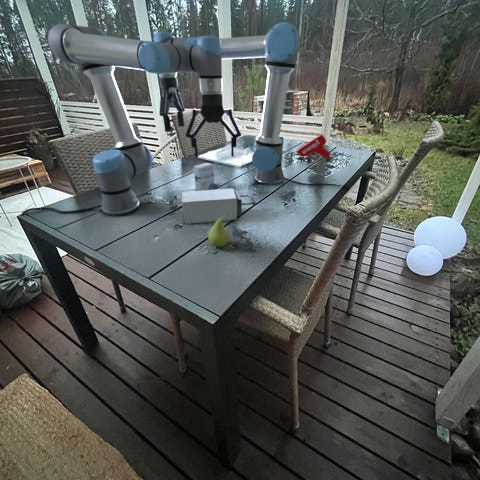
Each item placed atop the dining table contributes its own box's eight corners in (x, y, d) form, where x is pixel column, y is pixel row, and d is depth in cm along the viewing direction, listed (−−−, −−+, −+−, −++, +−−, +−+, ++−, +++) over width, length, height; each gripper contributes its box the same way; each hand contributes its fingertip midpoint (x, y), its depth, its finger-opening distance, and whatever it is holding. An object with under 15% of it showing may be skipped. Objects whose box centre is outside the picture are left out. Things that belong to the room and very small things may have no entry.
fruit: (206, 242, 94) (203, 211, 88) (227, 237, 96) (225, 207, 90) (212, 252, 89) (209, 220, 82) (233, 247, 91) (232, 215, 85)
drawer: (250, 205, 117) (251, 189, 113) (255, 215, 109) (255, 198, 105) (192, 210, 113) (190, 194, 109) (193, 220, 106) (191, 203, 102)
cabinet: (233, 208, 117) (232, 188, 112) (236, 219, 108) (236, 198, 103) (184, 212, 114) (182, 191, 109) (184, 224, 105) (182, 202, 100)
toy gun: (334, 153, 174) (322, 133, 171) (333, 155, 171) (321, 134, 167) (309, 168, 184) (297, 149, 181) (308, 170, 181) (296, 151, 177)
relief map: (240, 167, 163) (239, 158, 160) (198, 157, 181) (197, 150, 178) (264, 157, 181) (264, 149, 178) (224, 149, 199) (223, 141, 196)
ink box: (208, 184, 140) (207, 162, 133) (214, 187, 137) (213, 164, 130) (195, 189, 134) (192, 165, 128) (201, 192, 132) (199, 168, 125)
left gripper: (172, 94, 88) (180, 159, 100) (248, 93, 89) (247, 158, 101) (176, 92, 95) (183, 153, 106) (247, 91, 96) (246, 152, 107)
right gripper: (173, 76, 129) (179, 123, 140) (144, 78, 108) (154, 133, 120) (188, 76, 127) (193, 124, 138) (161, 78, 107) (169, 134, 118)
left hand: (214, 156), depth 104 cm, fingers open, 13 cm apart
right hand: (175, 128), depth 129 cm, fingers open, 13 cm apart
